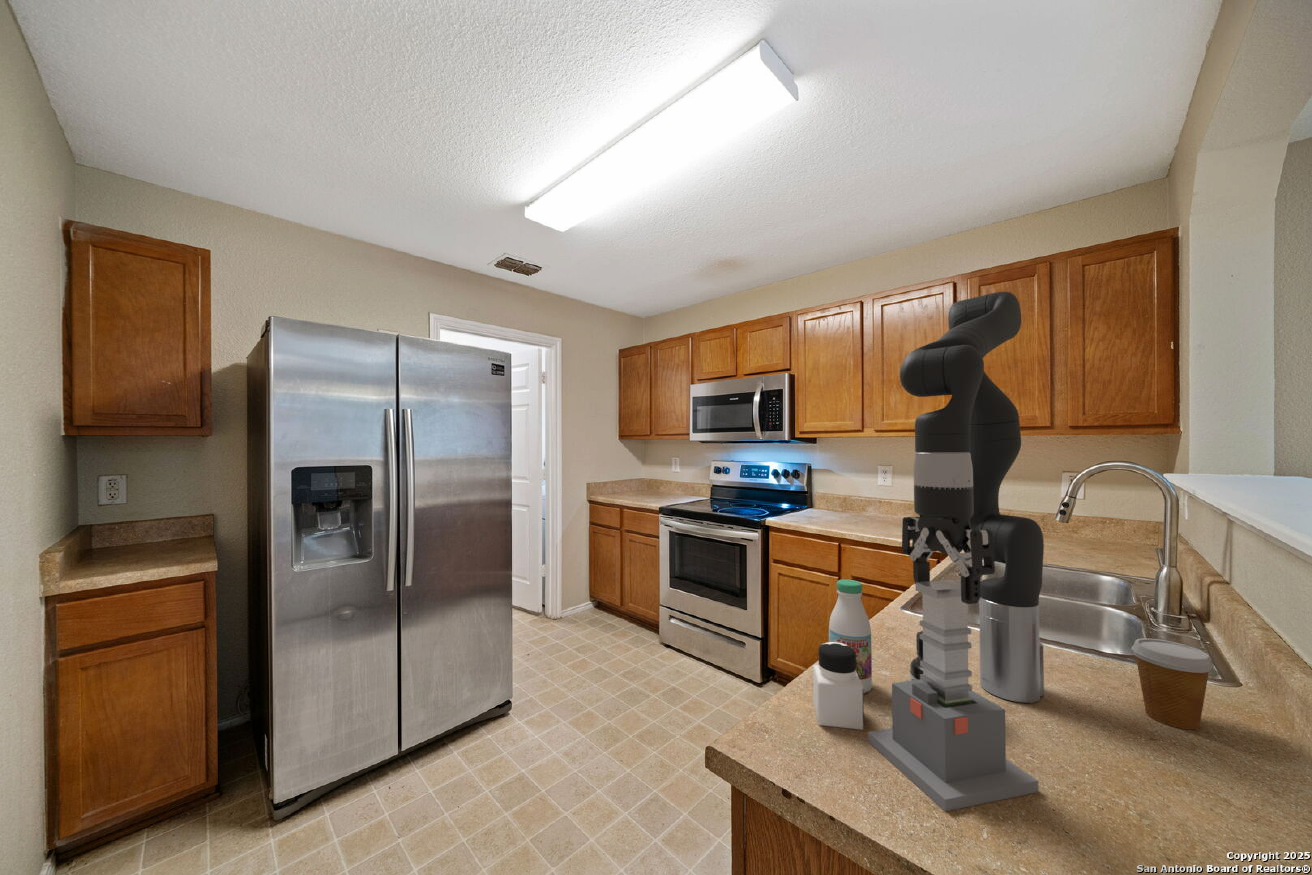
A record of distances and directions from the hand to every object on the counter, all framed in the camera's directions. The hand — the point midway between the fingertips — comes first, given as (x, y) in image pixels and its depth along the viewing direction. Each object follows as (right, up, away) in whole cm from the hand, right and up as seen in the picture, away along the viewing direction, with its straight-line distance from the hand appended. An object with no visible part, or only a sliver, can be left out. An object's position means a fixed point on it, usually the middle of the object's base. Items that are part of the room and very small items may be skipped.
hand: (944, 593), depth 71 cm
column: (0, -17, 0) cm, 17 cm away
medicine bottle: (-11, -25, +12) cm, 30 cm away
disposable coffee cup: (+46, -25, +11) cm, 53 cm away
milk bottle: (-5, -26, +23) cm, 35 cm away
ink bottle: (+8, -25, +16) cm, 31 cm away
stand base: (0, -25, 0) cm, 25 cm away
